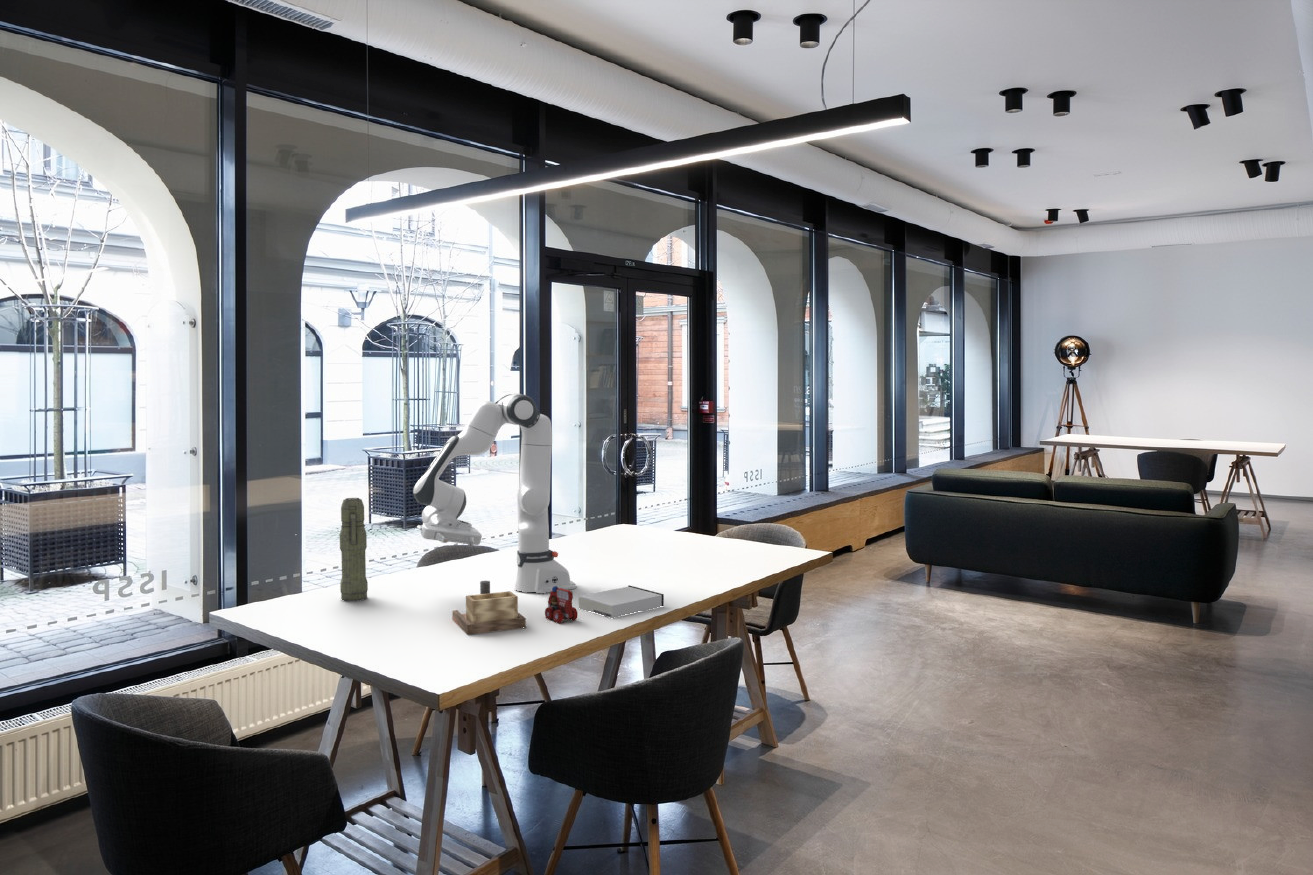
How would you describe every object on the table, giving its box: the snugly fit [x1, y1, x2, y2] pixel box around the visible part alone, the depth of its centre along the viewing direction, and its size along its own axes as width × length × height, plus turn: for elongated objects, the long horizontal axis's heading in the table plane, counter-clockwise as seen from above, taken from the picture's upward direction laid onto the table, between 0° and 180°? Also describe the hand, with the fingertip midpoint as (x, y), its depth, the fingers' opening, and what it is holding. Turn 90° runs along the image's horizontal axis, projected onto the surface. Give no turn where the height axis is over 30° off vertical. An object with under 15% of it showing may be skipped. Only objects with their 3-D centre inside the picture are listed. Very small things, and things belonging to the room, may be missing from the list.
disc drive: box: [578, 584, 665, 619], centre depth 300 cm, size 18×22×5 cm
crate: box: [465, 580, 519, 623], centre depth 278 cm, size 14×13×11 cm
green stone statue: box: [339, 497, 369, 602], centre depth 312 cm, size 9×12×35 cm
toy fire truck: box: [544, 586, 579, 624], centre depth 284 cm, size 7×12×10 cm, turn 38°
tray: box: [451, 609, 527, 636], centre depth 279 cm, size 18×19×3 cm
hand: (458, 542), depth 295 cm, fingers open, 8 cm apart
